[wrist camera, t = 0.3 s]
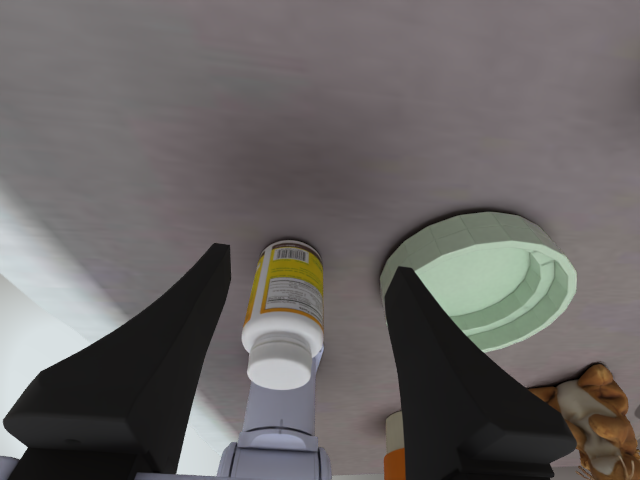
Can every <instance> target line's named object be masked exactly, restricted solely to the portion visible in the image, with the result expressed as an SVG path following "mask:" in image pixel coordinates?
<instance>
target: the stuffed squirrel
mask: <svg viewBox="0 0 640 480" xmlns="http://www.w3.org/2000/svg"><path fill="white" fill-rule="evenodd" d="M528 390H529V391H530V392H532V393H533V394H535V395H536V396H537V397H539V398H540V399H542V400H543V401H544V402H546V403H547V404H549V405H550V406H552V407H553V408H554V409H556V410H557V411H559V412H560V413H561V414H562V416H563V418H564V419H565V421H566V423H567V425H568V427H569V428H570V430H571V432H572V434H573V436H574V437H575V439H576V441H577V446H576V449H578V450H579V453H580V460H581V465H582V466H583V467H584V468H586V469H588V470H589V471H590V472H591V474H592V476H591V475H590V474H588V473H587V472H586V471H585V470H584V469H582V468H581V466H578V467H579V469H581V470H582V471H583V472H584V473H585V474H586V475H587V476H589V477H590V478H591V479H592V480H640V460H639V459H640V456H639V455H638V453H637V452H640V451H639V450H638V449H636V447H637V440H636V439H635V434H634V431H633V428H632V426H631V424H630V422H629V421H628V419H627V418H626V416H625V415H626V413H627V411H628V399H627V397H626V395H625V393H624V392H623V391H622V390H621V388H620V387H619V386H618V385H617V383H616V382H615V381H614V380H613V376H612V374H611V372H610V371H609V370H608V369H607V368H606V367H604V366H603V365H601V364H598V365H593V366H592V367H590V368H589V369H588V370H587V371H586V372H585V373H584V374H583V375H582V376H581V377H580V379H577V380H572V381H567V382H564V383H562V384H560V385H558V386H557V387H556V388H555V387H541V388H532V389H528ZM576 473H577V474H579V475H581V476H582V477H584V476H583V475H582V474H581V473H579V472H577V471H576ZM584 478H586V477H584ZM586 479H587V480H591V479H588V478H586Z"/></svg>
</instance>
